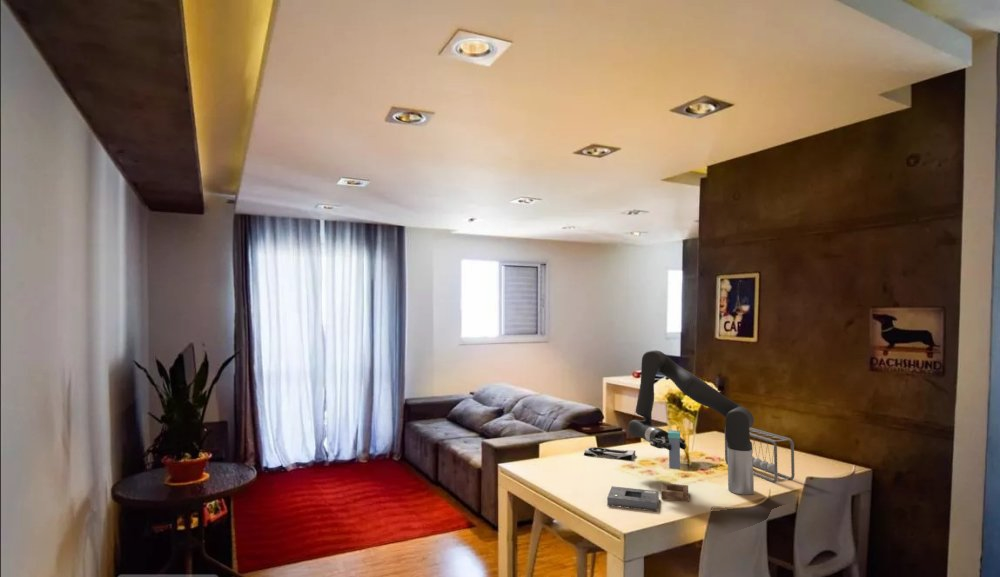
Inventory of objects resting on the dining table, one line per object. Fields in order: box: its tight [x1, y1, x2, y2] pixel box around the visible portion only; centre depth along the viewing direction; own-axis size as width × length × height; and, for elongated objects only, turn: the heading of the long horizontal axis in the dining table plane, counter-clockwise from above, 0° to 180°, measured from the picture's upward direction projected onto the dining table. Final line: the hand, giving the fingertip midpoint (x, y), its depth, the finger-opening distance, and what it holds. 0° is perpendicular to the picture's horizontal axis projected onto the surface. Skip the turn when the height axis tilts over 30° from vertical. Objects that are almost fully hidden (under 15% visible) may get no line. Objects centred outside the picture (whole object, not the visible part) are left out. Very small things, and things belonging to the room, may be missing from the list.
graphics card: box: [583, 446, 636, 462], centre depth 269 cm, size 10×3×25 cm
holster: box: [660, 482, 689, 503], centre depth 212 cm, size 10×10×3 cm
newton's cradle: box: [724, 426, 795, 483], centre depth 242 cm, size 30×10×18 cm, turn 19°
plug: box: [667, 429, 681, 470], centre depth 213 cm, size 4×4×14 cm
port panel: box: [606, 485, 660, 512], centre depth 206 cm, size 18×13×3 cm
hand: (677, 447), depth 210 cm, fingers closed on plug, 5 cm apart
